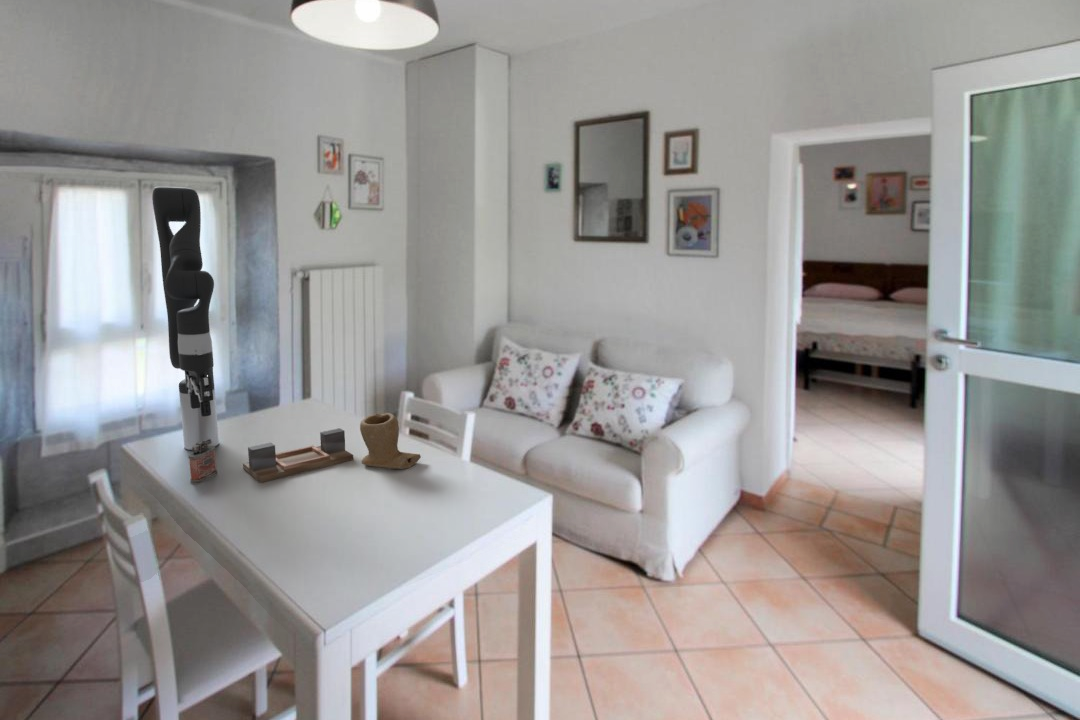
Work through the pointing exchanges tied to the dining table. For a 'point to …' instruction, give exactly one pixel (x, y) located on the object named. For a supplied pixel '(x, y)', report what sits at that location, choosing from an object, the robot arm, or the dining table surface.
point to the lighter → (202, 462)
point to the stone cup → (384, 443)
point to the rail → (297, 457)
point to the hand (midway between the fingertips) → (200, 411)
